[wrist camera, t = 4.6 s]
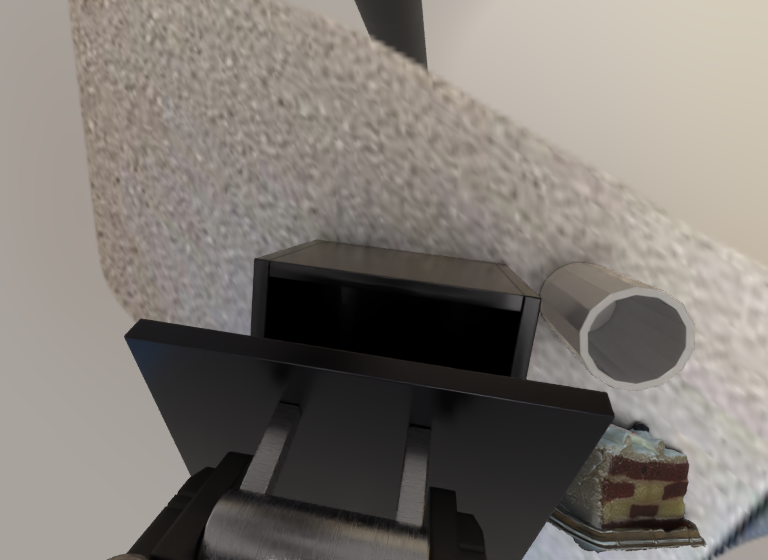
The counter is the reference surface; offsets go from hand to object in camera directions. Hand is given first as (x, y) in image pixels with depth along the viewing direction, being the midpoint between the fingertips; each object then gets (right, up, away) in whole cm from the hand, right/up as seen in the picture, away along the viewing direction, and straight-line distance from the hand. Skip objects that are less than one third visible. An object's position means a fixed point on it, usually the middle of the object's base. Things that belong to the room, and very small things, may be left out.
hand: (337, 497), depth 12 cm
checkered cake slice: (+18, -7, +18) cm, 27 cm away
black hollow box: (+2, 0, +19) cm, 19 cm away
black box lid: (0, -3, +5) cm, 6 cm away
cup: (+15, +5, +16) cm, 23 cm away
